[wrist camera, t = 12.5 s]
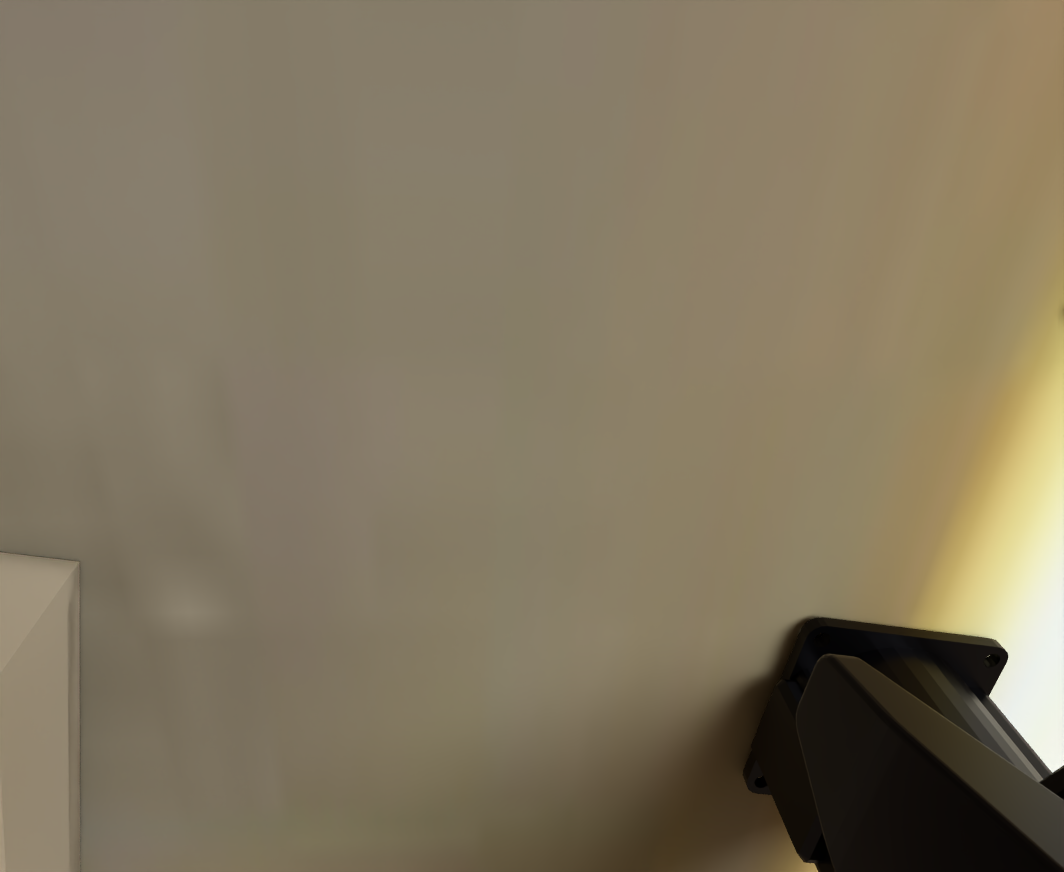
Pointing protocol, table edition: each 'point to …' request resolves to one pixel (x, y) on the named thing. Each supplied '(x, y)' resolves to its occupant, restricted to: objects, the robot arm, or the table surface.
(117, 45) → the table surface
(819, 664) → the robot arm
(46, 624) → the box
